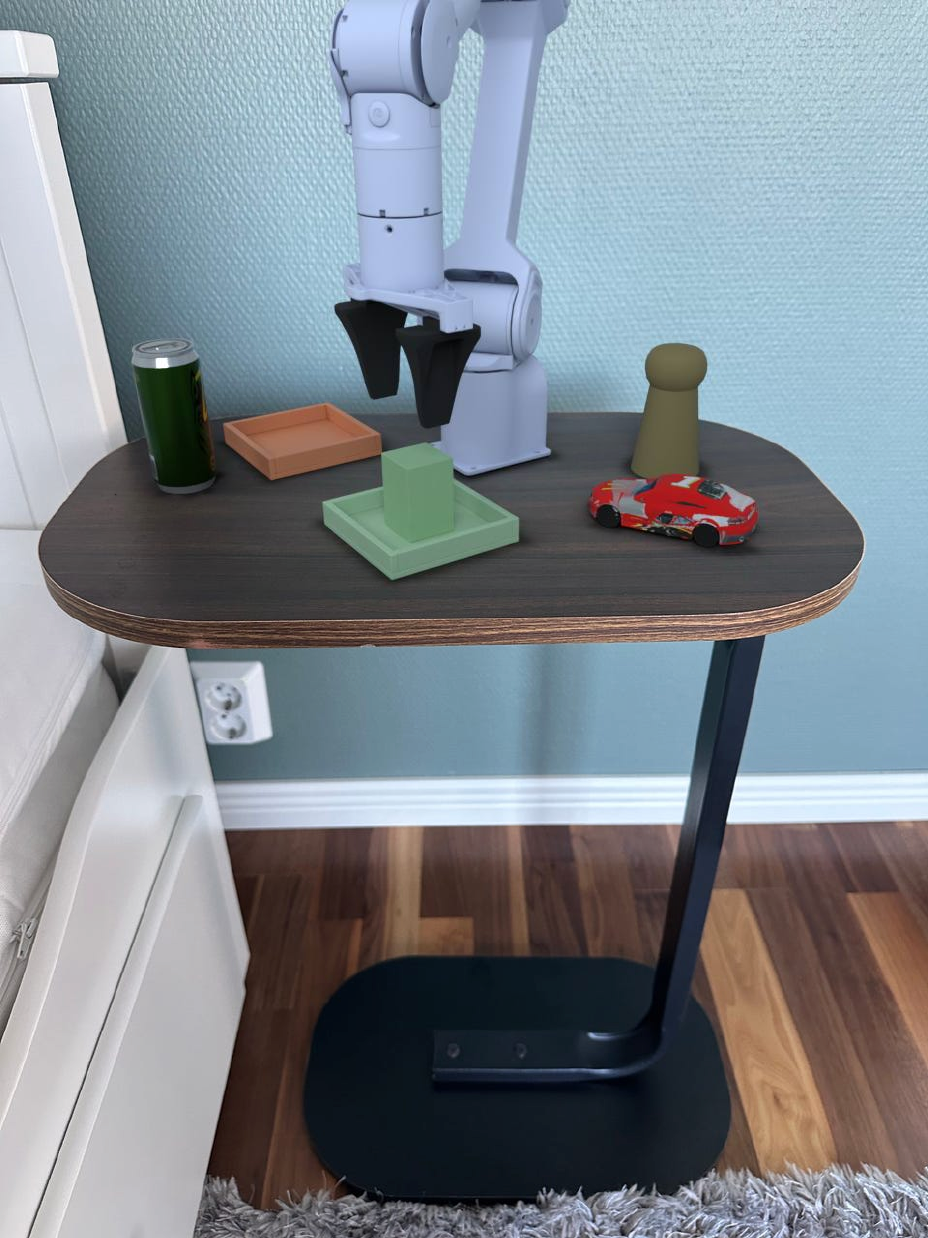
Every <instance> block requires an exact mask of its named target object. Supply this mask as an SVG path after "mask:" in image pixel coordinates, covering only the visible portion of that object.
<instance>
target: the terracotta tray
mask: <svg viewBox="0 0 928 1238" xmlns="http://www.w3.org/2000/svg"><path fill="white" fill-rule="evenodd" d="M222 424H223V425H222V427H223V433H224V440H225V443H226V445H227V446H229V447H230V448H231V449H232V450H234V451H235V452H236V453H238V455H240V456H241V457H242V458H243V459H245V460H246V461H247V462H248V463H249V464H250V465H252V466H253V467H254V468H256V469H257V470H258V471H259V472H260V473H262V474H263V475H264V476H265V477H266V478H268V479H269V480H270V481H274V480H277V479H278V480H279V479H283V478H287V477H292V476H295V475H300V474H305V473H308V472H312V471H317V470H322V469H326V468H330V467H334V466H338V465H342V464H347V463H350V462H356V461H359V460H360V461H361V460H364V459H368V458H372V457H376V456H377V457H378V456H381V453H382V452H383V444H382V434H381V433H380V432H378V431H376V430H375V429H373V428H372V427H370V426H368V425H367V424H365V423H364V422H362V421H361V420H358V419H357V418H356V417H354V416H352V415H350V414H348V413H347V412H345V411H344V410H342V409H340V408H338V407H337V406H336V405H333V404H332V403H331V402H329V401H327V402H323V403H318V404H317V403H316V404H313V405H308V406H302V407H297V408H293V409H288V410H282V411H278V412H273V413H268V414H262V415H257V416H252V417H247V418H243V419H238V420H232V421H229V422H224V423H222Z"/></svg>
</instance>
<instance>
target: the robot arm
mask: <svg viewBox="0 0 928 1238" xmlns="http://www.w3.org/2000/svg"><path fill="white" fill-rule="evenodd" d="M571 4H572V0H348V1H347V3H345V6H344V7H341V8H340V9H338V10H337V12H336V13H335V16H334V17H333V20H332V23H331V24H332V25H331V29H330V35H329V36H330V37H329V50H328V51H327V56H328V64H329V69H330V75H331V78H332V82H333V85H334V88H335V90H336V92H337V95H338V98H339V99H338V100H339V102H340V111H341V124H342V125H343V127H344V132H345V134H346V135H347V134H348V135H349V136H351V145H352V159H353V160H352V161H353V176H354V190H355V192H354V193H355V206H356V207H355V208H356V221H357V231H358V232H357V233H358V234H357V235H358V248H359V249H358V250H359V251H358V252H359V263H351V264H344V265H342V275H343V288H344V289H343V290H344V292H345V293H346V296H347V297H348V298H349V300H348V301H340V302H337V303H335V304H334V305H333V310H334V314H335V315H336V317H337V319H338V320H339V321H340V322H341V324H342V326H343V328H344V330H345V331H346V334H347V336H348V338H349V340H350V342H351V345H352V348H353V350H354V352H355V355H356V358H357V361H358V364H359V367H360V371H361V374H362V378H363V381H364V384H365V388H366V391H367V394H368V396H369V399H372V400H373V401H376V400H380V399H385V398H389V397H395V396H397V395H398V392H399V386H400V375H401V351H402V350H403V352H404V356H405V358H406V361H407V364H408V367H409V370H410V376H411V379H412V385H413V390H414V399H415V407H416V408H415V409H416V413H417V414H416V415H417V418H418V421H419V424H420V427H421V428H424V429H427V430H429V429H432V428H436V427H440V440H439V441H434V442H430V443H429V444H430V445H432V446H433V447H435V448H437V449H439V450H440V451H442V452H444V453H445V454H447V455H449V456H451V457H452V458H453V470H456V471H458V472H459V473H461V474H463V475H464V476H466V477H467V476H468V477H470V476H475V475H478V474H483V473H486V472H490V471H493V470H497V469H502V468H506V467H509V466H513V465H518V464H521V463H525V462H528V461H533V460H536V459H540V458H545V457H548V456H551V454H552V449H550V448H549V447H548V446H547V430H548V401H549V385H548V379H547V374H546V370H545V368H544V366H543V364H542V362H541V361H540V360H539V358H538V357H537V356H535V354H534V353H535V351H536V349H537V348H538V345H539V344H538V343H539V340H540V335H541V329H542V318H543V307H542V297H543V296H542V294H543V284H544V283H543V279H542V276H541V272H540V270H539V268H538V267H537V265H536V264H535V262H534V261H533V260H531V258H529V257H528V256H527V255H526V254H525V253H524V252H523V251H522V250H521V249H520V248H519V247H518V246H517V238H518V230H519V222H520V216H521V209H522V200H523V194H524V187H525V179H526V173H527V164H528V157H529V150H530V142H531V135H532V128H533V120H534V113H535V107H536V100H537V91H538V84H539V77H540V72H541V66H542V61H543V56H544V53H545V47H546V43H547V38H548V35H550V34H551V33H552V32H554V31H555V30H557V28H559V27H560V26H562V25H563V24H564V23H566V21H567V19H568V11H569V7H570V5H571ZM469 29H470V30H472V31H473V32H474V33H476V34H477V35H479V36H480V37H481V38H482V41H483V44H484V48H483V49H484V51H483V56H482V58H483V59H482V65H481V66H482V67H481V73H480V74H481V75H480V81H479V88H478V96H477V103H476V111H475V119H474V126H473V134H472V142H471V149H470V156H469V165H468V172H467V180H466V188H465V196H464V203H463V210H462V219H461V226H460V234H459V237H458V238H457V239H456V240H454V241H453V242H452V243H451V244H449V245H447V246H446V247H444V208H443V207H444V205H443V203H444V202H443V199H444V198H443V159H442V158H443V157H442V152H443V151H442V150H443V149H442V104H443V103H444V102H445V101H446V100H448V99H449V97H450V95H451V92H452V87H453V83H454V77H455V69H456V65H457V61H459V54H460V51H461V50H460V44H459V43H460V42H461V40H462V39H463V37H464V36H465V35H466V33H467V31H468V30H469ZM409 314H410V315H412V316H416V324H415V325H411V326H406V322H407V319H408V318H407V317H408V316H409Z"/></svg>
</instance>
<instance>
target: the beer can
mask: <svg viewBox="0 0 928 1238" xmlns="http://www.w3.org/2000/svg"><path fill="white" fill-rule="evenodd" d="M131 352H132V357H131V361H130V362H131V367H132V373H133V378H134V384H135V387H136V388H135V389H136V393H137V399H138V404H139V409H140V414H141V419H142V425H143V429H144V435H145V439H146V440H145V441H146V445H147V451H148V456H149V460H150V465H151V471H152V476H153V479H154V480H153V481H154V482H155V484H156V485H157V487H158V488H159V490H161V491H162V492H164V493H168V494H174V495H187V494H193V493H198V492H202V491H205V490H207V489H208V488H210V487H211V486H213V485H214V483H215V480H216V477H217V474H218V469H217V462H216V457H215V449H214V444H213V438H212V437H213V436H212V430H211V425H210V417H209V412H208V411H209V410H208V405H207V404H208V403H207V399H206V393H205V386H204V380H203V373H202V367H201V366H202V365H201V360H200V355H199V354H198V352H197V351H196V349H195V343H194V342H193V341H192V340H189V339H186V338H185V339H184V338H174V337H173V338H172V337H171V338H157V339H151V340H145V341H143V342H139V343H137V344H135V345H133V346H132V348H131Z"/></svg>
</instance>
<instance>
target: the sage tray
mask: <svg viewBox="0 0 928 1238" xmlns="http://www.w3.org/2000/svg"><path fill="white" fill-rule="evenodd" d="M453 479H454V530H453V531H450V532H446V533H443V534H439V535H436V536H432V537H429V538H426V539H422V540H419V541H415V542H412V543H410V542H408V541H407V540H406V539H404V538H403V537H402V536H400V535H399V534H398V533H396V532H395V531H394V530H392V529H391V528H390V527H388V526H387V525H386V524H385V513H384V496H383V485H382V486H379V487H375V488H371V489H367V490H362V491H359V492H356V493H351V494H347V495H344V496H340V497H335V498H332V499H328V500H324V501H322V502H321V503H322V512H323V513H322V514H323V524H324V526H325V527H327V528H328V529H329V530H331V531H332V532H333V533H334V534H335V535H336V536H338V537H339V538H340V539H341V540H342V541H344V542H345V543H346V544H347V545H348V546H349V547H351V548H353V550H355V551H356V552H357V553H358V554H360V555H361V556H362V557H363V558H365V559H366V561H368V562H369V563H370V564H372V565H373V566H374V567H375V568H376V569H378V570H379V571H380V572H381V573H382V574H384V575H385V576H386V577H387V578H389V580H391V581H394V580H397V579H401V578H405V577H408V576H410V575H414V574H418V573H420V572H424V571H427V570H430V569H433V568H438V567H440V566H443V565H447V564H450V563H452V562H453V563H454V562H456V561H459V560H463V559H467V558H469V557H470V558H471V557H473V556H476V555H480V554H482V553H486V552H489V551H492V550H495V549H498V548H502V547H505V546H509V545H511V544H515V543H518V542H519V541H520V517H518V516H516V514H513V513H511V512H510V511H508V510H507V509H505V508H504V507H503V506H500V505H498V504H497V503H495V502H493V501H492V500H490V499H489V498H487V497H485V496H484V495H482V494H480V493H479V492H477V491H476V490H474V489H472V488H471V487H469V486H467V485H465V484H464V483H462V482H461V481H459V480H457V479H456V478H454V477H453Z"/></svg>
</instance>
